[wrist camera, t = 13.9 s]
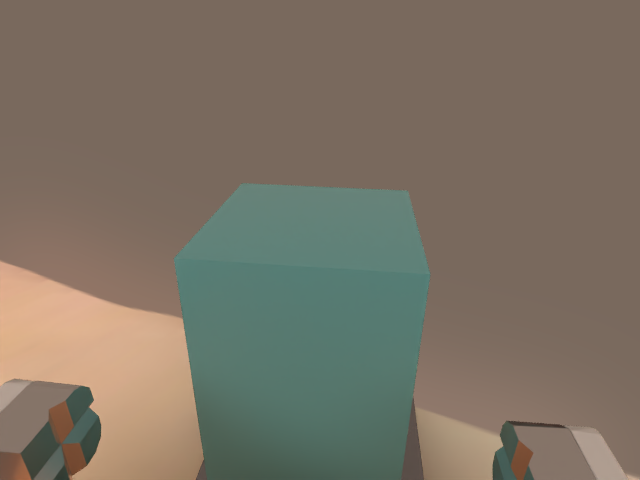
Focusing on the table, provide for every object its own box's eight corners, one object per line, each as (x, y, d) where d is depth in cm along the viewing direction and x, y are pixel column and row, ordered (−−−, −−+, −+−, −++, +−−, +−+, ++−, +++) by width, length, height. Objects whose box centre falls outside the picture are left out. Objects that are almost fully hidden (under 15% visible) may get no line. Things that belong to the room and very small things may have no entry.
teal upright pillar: (214, 525, 13) (174, 258, 9) (256, 394, 18) (242, 183, 14) (391, 546, 13) (430, 274, 9) (384, 405, 18) (407, 190, 14)
